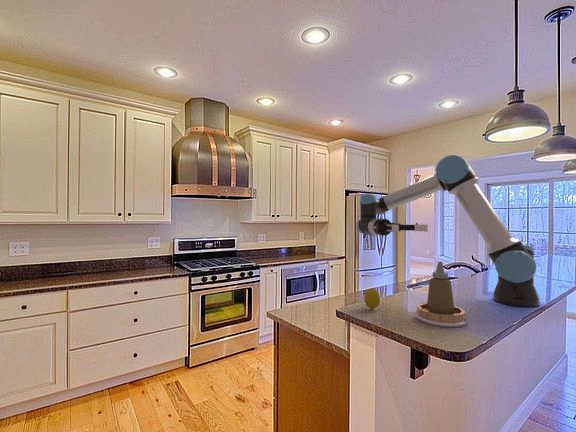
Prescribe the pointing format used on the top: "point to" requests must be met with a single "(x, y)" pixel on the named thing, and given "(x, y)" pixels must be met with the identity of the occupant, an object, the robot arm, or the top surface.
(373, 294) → the lemon
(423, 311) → the flange seat
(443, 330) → the top surface
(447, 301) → the squeeze bottle
